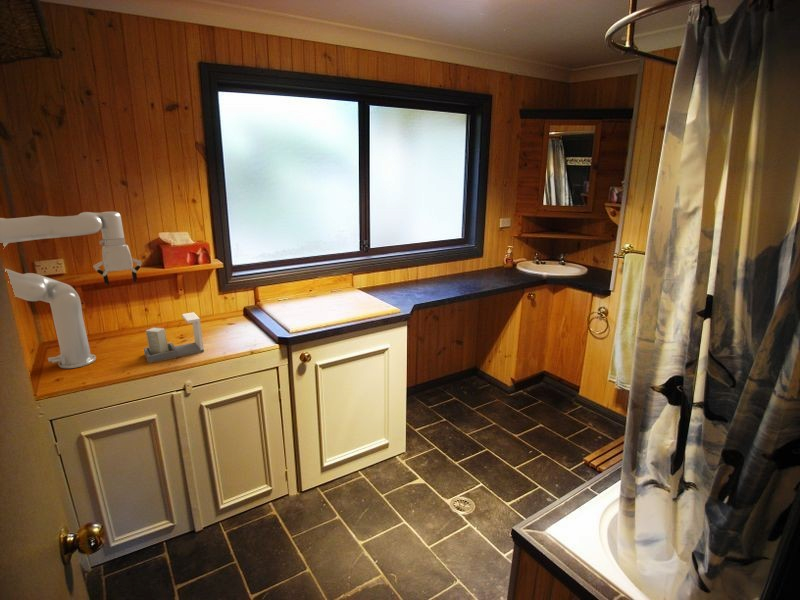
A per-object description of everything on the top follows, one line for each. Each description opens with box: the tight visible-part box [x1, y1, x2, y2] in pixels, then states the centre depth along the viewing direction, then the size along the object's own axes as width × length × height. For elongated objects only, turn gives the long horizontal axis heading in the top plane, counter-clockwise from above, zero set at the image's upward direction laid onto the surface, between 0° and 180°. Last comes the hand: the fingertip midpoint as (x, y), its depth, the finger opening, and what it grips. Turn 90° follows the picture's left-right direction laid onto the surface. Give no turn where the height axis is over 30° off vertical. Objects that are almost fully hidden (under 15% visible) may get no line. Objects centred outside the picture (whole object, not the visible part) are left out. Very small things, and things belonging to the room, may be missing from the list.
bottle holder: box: [143, 311, 205, 364], centre depth 193 cm, size 22×11×15 cm, turn 126°
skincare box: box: [145, 326, 170, 355], centre depth 191 cm, size 6×4×12 cm
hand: (121, 283), depth 190 cm, fingers open, 9 cm apart
